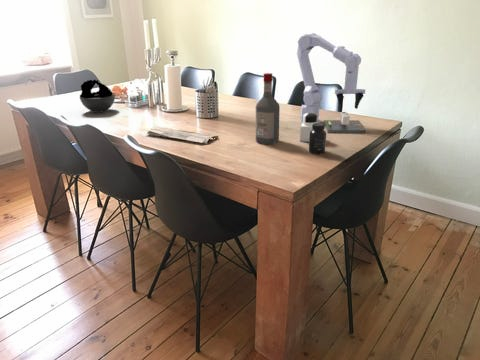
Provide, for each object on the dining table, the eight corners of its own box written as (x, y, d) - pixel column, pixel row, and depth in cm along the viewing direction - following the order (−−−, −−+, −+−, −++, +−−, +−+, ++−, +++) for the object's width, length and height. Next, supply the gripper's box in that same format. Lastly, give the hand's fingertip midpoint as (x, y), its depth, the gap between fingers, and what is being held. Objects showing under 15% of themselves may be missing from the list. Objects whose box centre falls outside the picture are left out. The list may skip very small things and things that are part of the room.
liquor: (271, 145, 173) (272, 76, 161) (253, 142, 177) (253, 74, 165) (280, 140, 180) (282, 73, 168) (263, 137, 184) (263, 71, 172)
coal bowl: (87, 108, 245) (81, 78, 238) (119, 107, 247) (115, 76, 239) (78, 116, 227) (72, 83, 219) (113, 115, 229) (109, 82, 221)
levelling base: (327, 132, 189) (328, 127, 188) (323, 123, 205) (323, 117, 204) (365, 133, 187) (366, 127, 186) (358, 123, 204) (359, 117, 203)
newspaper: (218, 139, 184) (218, 131, 183) (204, 146, 174) (204, 139, 173) (158, 130, 199) (157, 123, 198) (142, 137, 189) (141, 130, 188)
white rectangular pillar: (342, 127, 192) (343, 116, 190) (339, 122, 200) (340, 111, 198) (348, 127, 192) (349, 116, 189) (345, 122, 200) (346, 111, 198)
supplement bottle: (306, 149, 167) (308, 122, 162) (322, 149, 167) (324, 121, 163) (310, 155, 161) (312, 126, 156) (327, 154, 161) (329, 126, 156)
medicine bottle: (317, 138, 182) (319, 112, 177) (315, 142, 175) (316, 116, 171) (302, 136, 184) (303, 111, 179) (299, 141, 178) (300, 115, 173)
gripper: (338, 82, 184) (336, 110, 190) (368, 81, 185) (365, 109, 191) (334, 79, 191) (332, 107, 196) (363, 79, 192) (360, 106, 197)
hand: (348, 108), depth 194 cm, fingers open, 7 cm apart
